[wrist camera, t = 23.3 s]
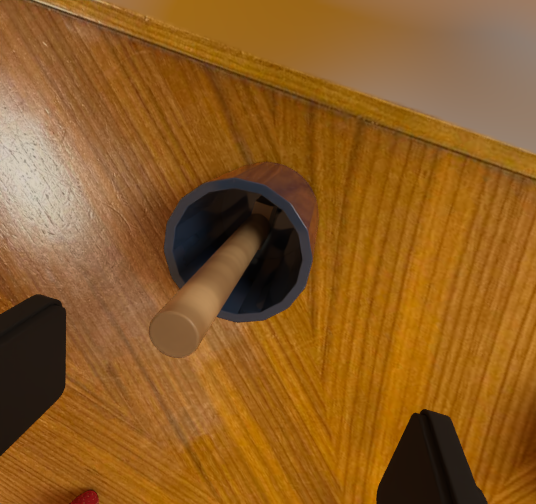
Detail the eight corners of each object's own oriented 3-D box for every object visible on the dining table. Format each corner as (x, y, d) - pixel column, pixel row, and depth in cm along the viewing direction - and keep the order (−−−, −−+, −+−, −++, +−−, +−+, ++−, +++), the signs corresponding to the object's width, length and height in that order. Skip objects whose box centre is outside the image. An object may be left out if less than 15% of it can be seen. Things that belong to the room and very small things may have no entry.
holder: (226, 151, 25) (172, 162, 17) (330, 175, 25) (328, 200, 16) (210, 248, 28) (157, 300, 19) (304, 273, 27) (291, 338, 19)
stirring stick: (261, 191, 25) (157, 283, 10) (282, 199, 25) (209, 302, 10) (249, 231, 26) (140, 366, 11) (270, 238, 26) (187, 383, 11)
